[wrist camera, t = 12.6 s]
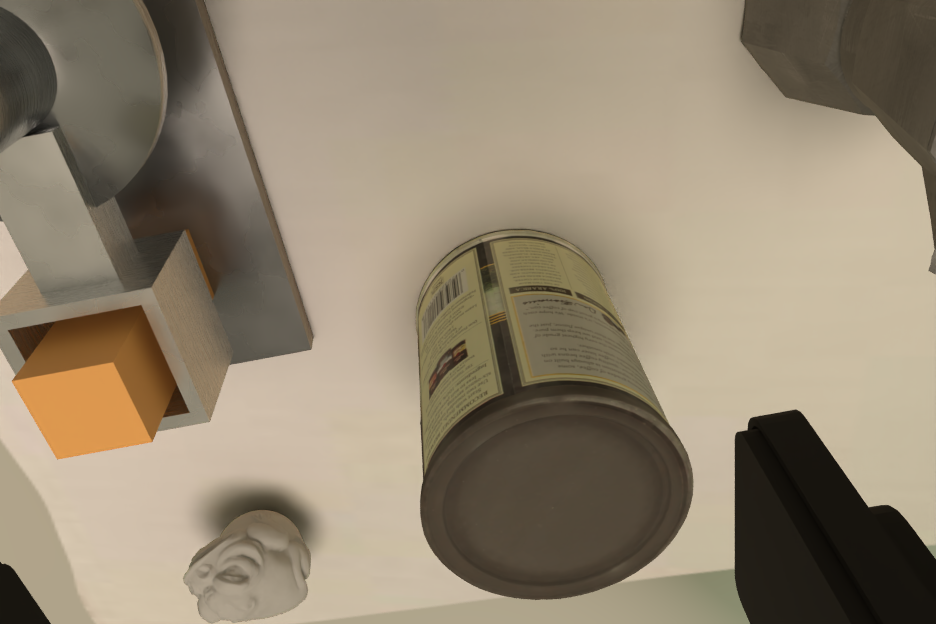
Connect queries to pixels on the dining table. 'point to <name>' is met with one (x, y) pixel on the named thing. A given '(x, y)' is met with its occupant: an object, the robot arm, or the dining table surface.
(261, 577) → the plaster head sculpture
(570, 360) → the coffee can
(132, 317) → the orange rectangular block
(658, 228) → the dining table surface
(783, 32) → the coffeepot
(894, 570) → the robot arm
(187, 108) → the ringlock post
